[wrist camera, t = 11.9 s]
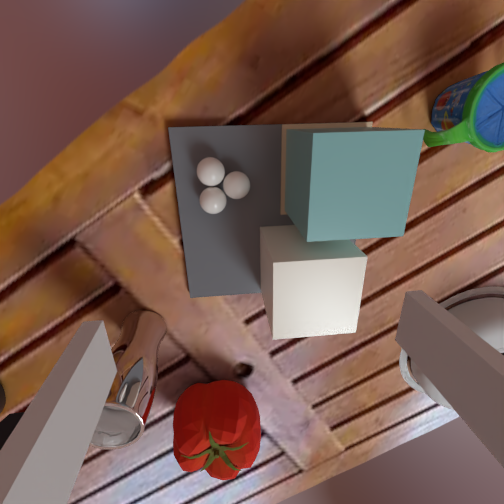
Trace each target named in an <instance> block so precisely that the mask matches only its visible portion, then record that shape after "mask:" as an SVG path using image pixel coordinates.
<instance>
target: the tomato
mask: <svg viewBox="0 0 504 504" xmlns="http://www.w3.org/2000/svg"><path fill="white" fill-rule="evenodd" d="M173 429H174V440H173V447H174V456H175V458H176V460H177V462H178V463H179V465H180V467H181V468H182V470H183V471H188V472H192V471H196V470H198V469H200V468H201V467H204V468H203V469H202V470H204V469H205V470H206V471H207V472H208V473H209V475H210V476H211V477H214V478H217V479H221V480H228V479H234V478H235V477H236V476H237V474H238V473H239V471H241V470H240V469H243V468H250V467H251V466H252V464H253V462H254V461H255V459H256V456H257V454H258V452H259V448H260V439H261V433H260V416H259V411H258V407H257V405H256V402H255V400H254V398H253V396H252V394H251V393H250V392H249V391H248V390H247V389H246V388H245V387H244V386H243V385H241V384H239V383H237V382H235V381H229V380H219V381H214V382H211V383H208V384H204V383H196V384H194V385H191V386H190V387H188V388H187V389H186V390H185V391H184V392H183V393H182V394H181V396H180V397H179V399H178V401H177V403H176V407H175V411H174V419H173ZM202 470H201V471H202Z"/></svg>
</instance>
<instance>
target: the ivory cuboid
mask: <svg viewBox="0 0 504 504" xmlns="http://www.w3.org/2000/svg"><path fill="white" fill-rule="evenodd" d="M366 263H367V256H366V255H365V254H364V253H363V252H362V251H361V250H360V249H359V248H358V247H357V246H356V245H354V244H353V243H352V242H351V241H350V240H349V239H347V240H331V241H314V242H307V241H306V240H305V238H304V237H303V236H302V234H301V233H300V231H299V230H298V229H297V227H296V226H295V225H284V226H265V227H260V268H261V293H262V297H263V301H264V305H265V309H266V314H267V318H268V322H269V326H270V330H271V334H272V339H273V340H275V339H286V338H298V337H309V336H321V335H333V334H344V333H356V328H357V321H358V315H359V308H360V302H361V295H362V289H363V283H364V276H365V270H366Z"/></svg>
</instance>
